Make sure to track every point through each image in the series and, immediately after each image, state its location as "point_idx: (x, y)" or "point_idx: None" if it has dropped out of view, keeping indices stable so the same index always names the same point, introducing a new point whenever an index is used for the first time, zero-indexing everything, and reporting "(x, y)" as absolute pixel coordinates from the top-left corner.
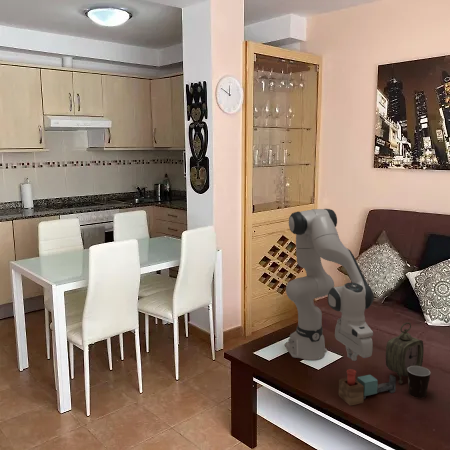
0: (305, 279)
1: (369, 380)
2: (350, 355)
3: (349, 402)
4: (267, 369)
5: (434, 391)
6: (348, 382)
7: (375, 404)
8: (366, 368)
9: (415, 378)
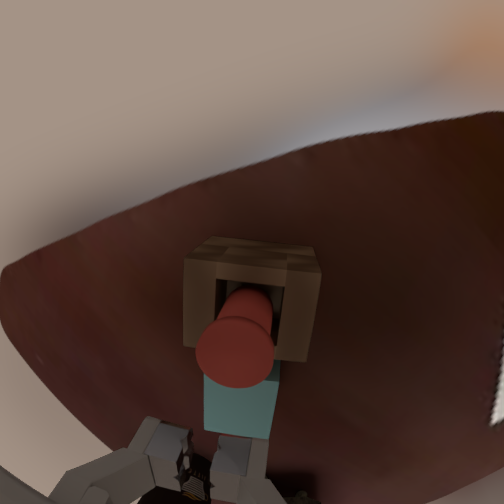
0: None
1: (217, 404)
2: (213, 464)
3: (214, 239)
4: None
5: None
6: (243, 294)
7: (179, 336)
8: (397, 453)
9: (150, 496)
